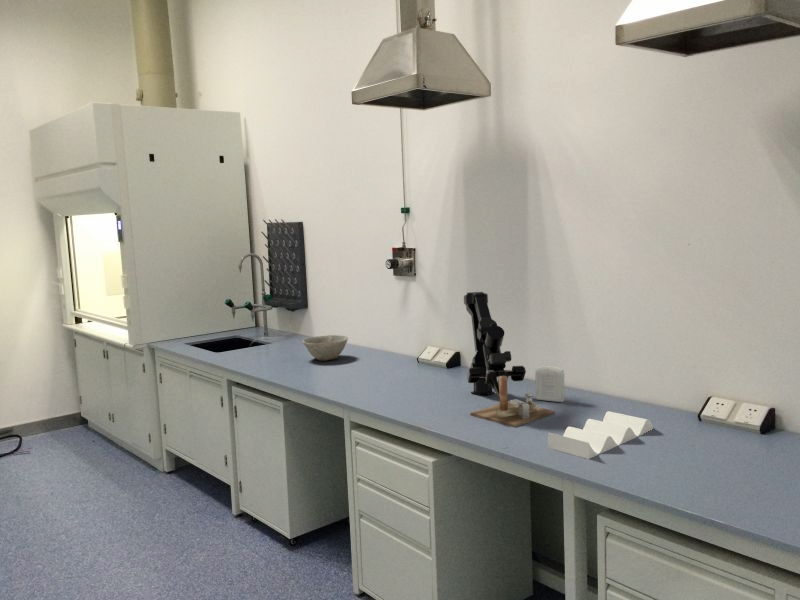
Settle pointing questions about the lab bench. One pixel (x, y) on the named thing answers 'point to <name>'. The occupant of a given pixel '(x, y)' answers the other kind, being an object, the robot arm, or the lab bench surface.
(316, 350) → the ceramic bowl
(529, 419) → the walnut board
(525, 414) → the pintle and keeper
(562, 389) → the white arched upright block
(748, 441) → the lab bench surface
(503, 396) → the ash crank
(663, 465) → the lab bench surface
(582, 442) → the white wavy rack
